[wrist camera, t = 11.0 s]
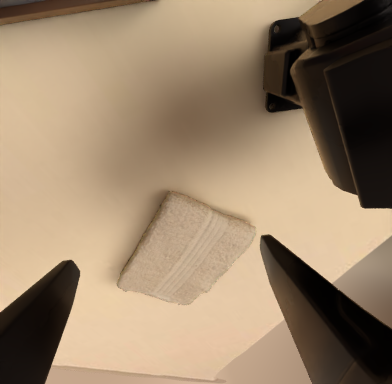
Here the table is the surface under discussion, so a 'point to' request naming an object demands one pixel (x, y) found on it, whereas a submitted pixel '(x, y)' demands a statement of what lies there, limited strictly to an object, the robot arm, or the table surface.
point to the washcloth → (185, 251)
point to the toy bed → (51, 8)
